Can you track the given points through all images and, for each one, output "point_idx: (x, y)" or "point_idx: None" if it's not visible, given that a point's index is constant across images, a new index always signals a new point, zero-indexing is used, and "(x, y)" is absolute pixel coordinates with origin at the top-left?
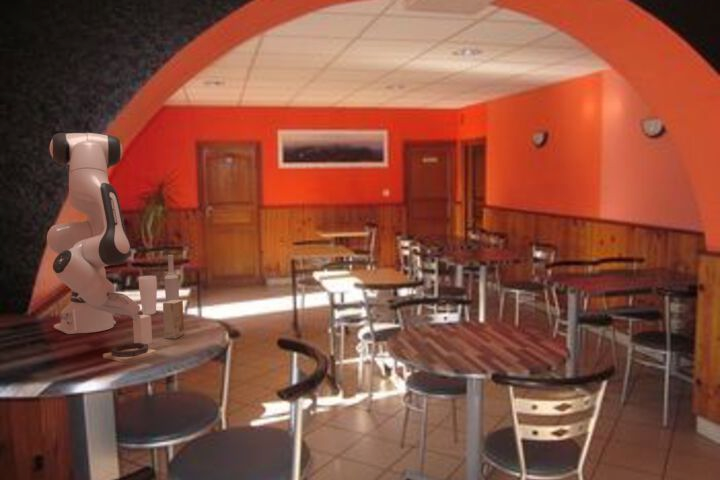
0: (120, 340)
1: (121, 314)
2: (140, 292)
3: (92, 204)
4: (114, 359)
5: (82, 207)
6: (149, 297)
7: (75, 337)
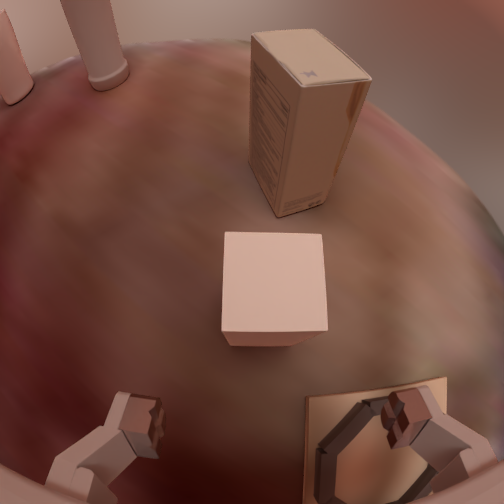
0: (121, 334)
1: (161, 403)
2: None
3: None
4: None
5: None
6: (8, 62)
7: None
